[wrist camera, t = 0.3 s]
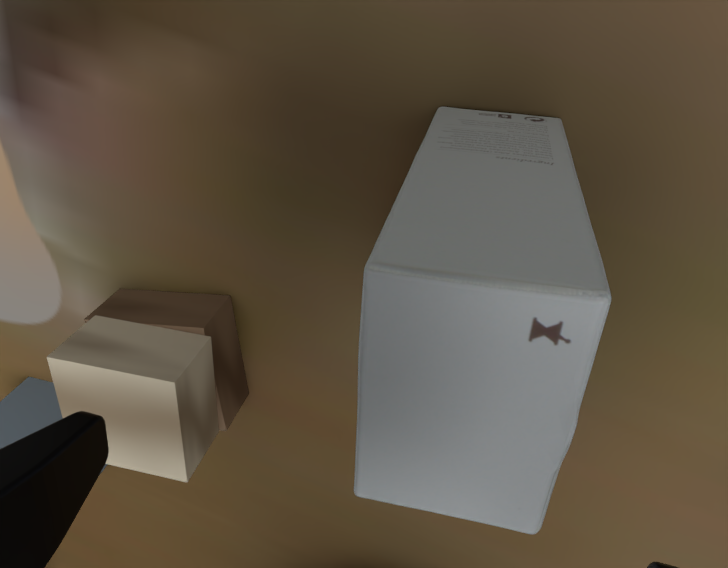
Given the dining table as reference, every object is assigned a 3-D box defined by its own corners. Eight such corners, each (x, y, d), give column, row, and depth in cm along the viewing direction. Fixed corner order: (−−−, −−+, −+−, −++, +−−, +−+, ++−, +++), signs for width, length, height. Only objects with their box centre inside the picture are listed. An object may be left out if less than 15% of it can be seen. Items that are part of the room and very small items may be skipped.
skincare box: (434, 102, 20) (359, 255, 10) (562, 115, 19) (626, 293, 9) (418, 260, 23) (347, 502, 13) (528, 275, 22) (547, 544, 12)
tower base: (251, 388, 29) (226, 431, 26) (150, 379, 30) (117, 418, 27) (233, 291, 26) (203, 328, 24) (123, 285, 27) (84, 319, 25)
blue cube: (115, 455, 33) (57, 529, 29) (43, 436, 34) (-24, 506, 29) (106, 395, 31) (41, 465, 26) (29, 375, 31) (-46, 442, 27)
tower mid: (218, 431, 26) (187, 482, 24) (114, 409, 27) (72, 456, 24) (211, 336, 24) (174, 382, 21) (95, 315, 24) (46, 356, 22)
